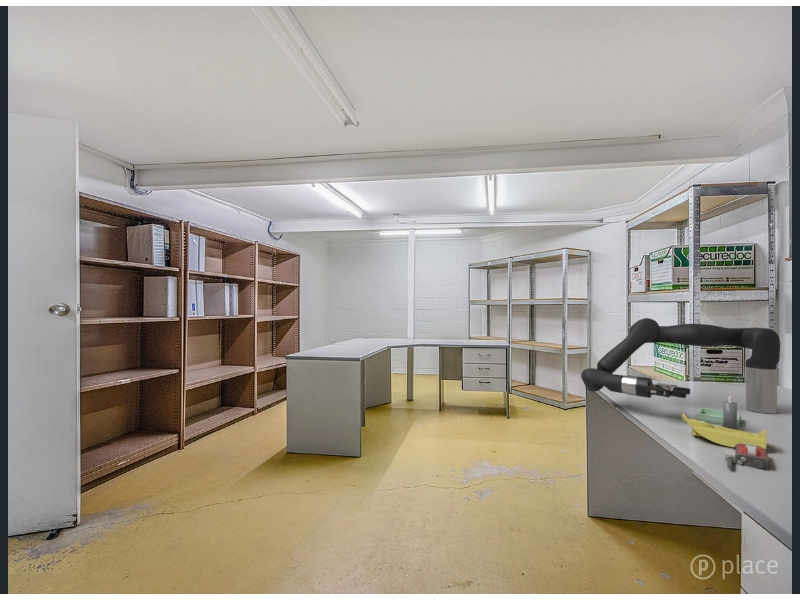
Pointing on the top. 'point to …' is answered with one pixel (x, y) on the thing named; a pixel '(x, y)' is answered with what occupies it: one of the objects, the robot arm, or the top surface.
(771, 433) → the top surface
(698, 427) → the plastic component
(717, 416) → the tray
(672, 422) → the top surface
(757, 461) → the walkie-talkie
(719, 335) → the robot arm
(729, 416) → the grey bottle white cap
